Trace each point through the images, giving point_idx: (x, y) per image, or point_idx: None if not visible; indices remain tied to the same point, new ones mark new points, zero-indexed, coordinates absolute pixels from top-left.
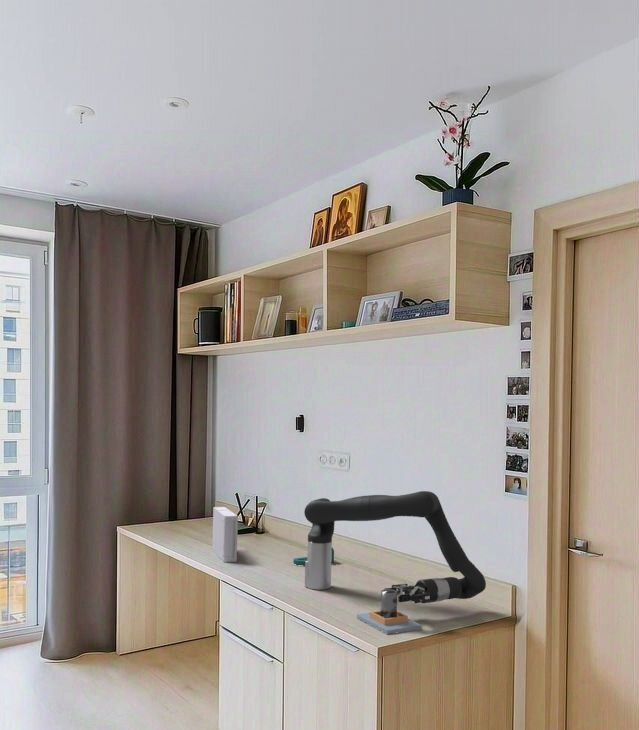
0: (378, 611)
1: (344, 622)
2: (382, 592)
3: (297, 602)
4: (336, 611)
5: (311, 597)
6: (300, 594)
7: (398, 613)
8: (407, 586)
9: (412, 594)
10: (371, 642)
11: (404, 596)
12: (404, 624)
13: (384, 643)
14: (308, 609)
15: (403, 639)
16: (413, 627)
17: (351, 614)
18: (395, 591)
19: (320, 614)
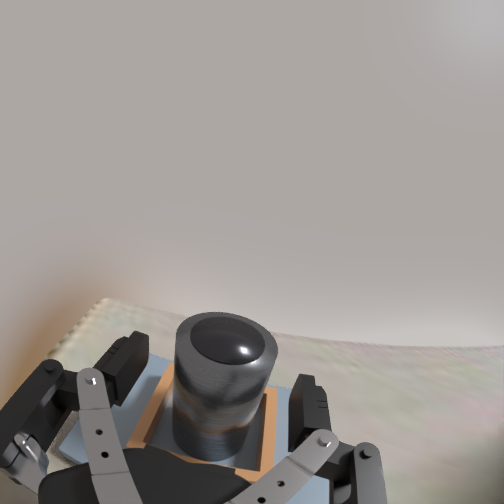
0: (267, 413)
1: (292, 359)
2: (235, 316)
3: (451, 359)
4: (391, 391)
5: (485, 388)
6: (496, 379)
7: (194, 459)
8: (241, 494)
9: (78, 373)
10: (130, 306)
11: (116, 349)
12: (118, 422)
13: (102, 312)
14: (408, 355)
15: (73, 347)
16: (78, 422)
17: (358, 408)
18: (201, 356)
19: (371, 356)
